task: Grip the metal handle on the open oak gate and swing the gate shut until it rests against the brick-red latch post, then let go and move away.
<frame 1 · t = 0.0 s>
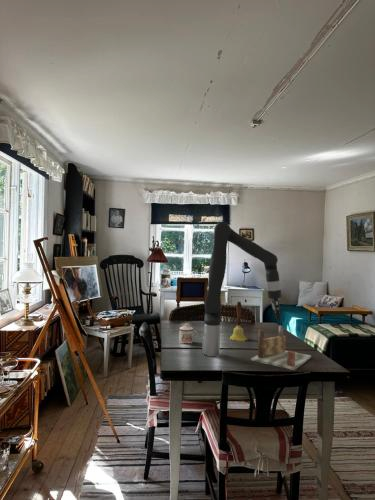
hand: (277, 318, 193), 22 cm above the table, tool pointing down, fingers open, 8 cm apart
handbell: (238, 339, 234), on the table
oak gate: (274, 340, 198), point 9 cm above the table, hinge at 70.0°
gate frame: (260, 358, 192), on the table
teacup with lid: (188, 342, 222), on the table
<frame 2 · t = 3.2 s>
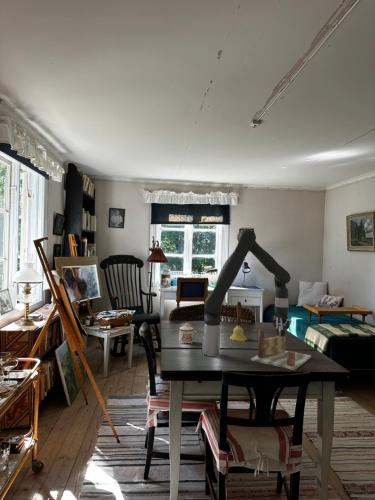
hand: (280, 335, 201), 11 cm above the table, tool pointing down, fingers closed on oak gate, 2 cm apart
oak gate: (274, 340, 198), point 9 cm above the table, hinge at 70.0°, touching gripper
everything else where it was.
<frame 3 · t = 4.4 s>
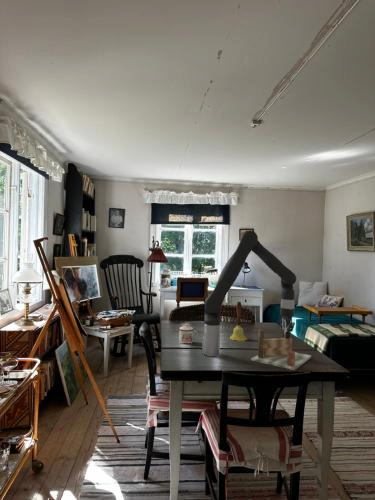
hand: (286, 337, 196), 11 cm above the table, tool pointing down, fingers closed on oak gate, 2 cm apart
oak gate: (277, 341, 195), point 9 cm above the table, hinge at 53.1°, touching gripper
everything else where it was.
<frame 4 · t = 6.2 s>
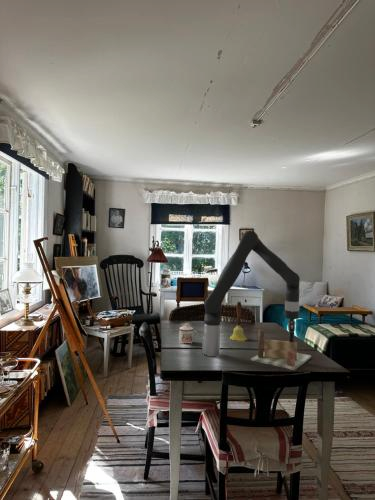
hand: (291, 340, 189), 11 cm above the table, tool pointing down, fingers closed on oak gate, 2 cm apart
oak gate: (280, 344, 190), point 9 cm above the table, hinge at 25.4°, touching gripper
everything else where it was.
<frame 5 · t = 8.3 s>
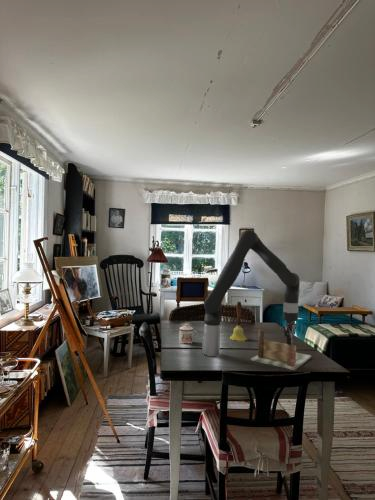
hand: (290, 343, 183), 11 cm above the table, tool pointing down, fingers closed on oak gate, 2 cm apart
oak gate: (279, 345, 186), point 9 cm above the table, hinge at 2.3°, touching gripper
everything else where it was.
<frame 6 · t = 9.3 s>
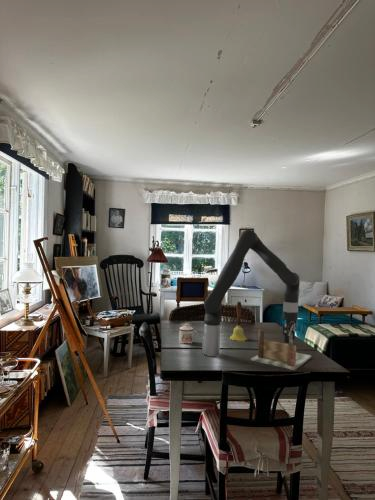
hand: (289, 341, 182), 12 cm above the table, tool pointing down, fingers open, 8 cm apart
oak gate: (279, 345, 186), point 9 cm above the table, hinge at 2.3°
everything else where it was.
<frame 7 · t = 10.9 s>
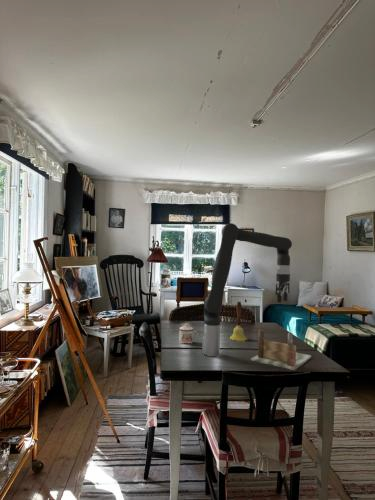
hand: (282, 301, 197), 31 cm above the table, tool pointing down, fingers open, 8 cm apart
nothing on the table moved.
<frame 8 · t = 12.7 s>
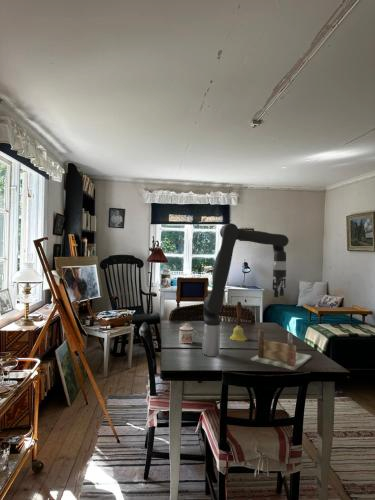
hand: (278, 296, 204), 33 cm above the table, tool pointing down, fingers open, 8 cm apart
nothing on the table moved.
at the end: oak gate at +2° (first picture: +70°); the gripper is holding nothing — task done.
